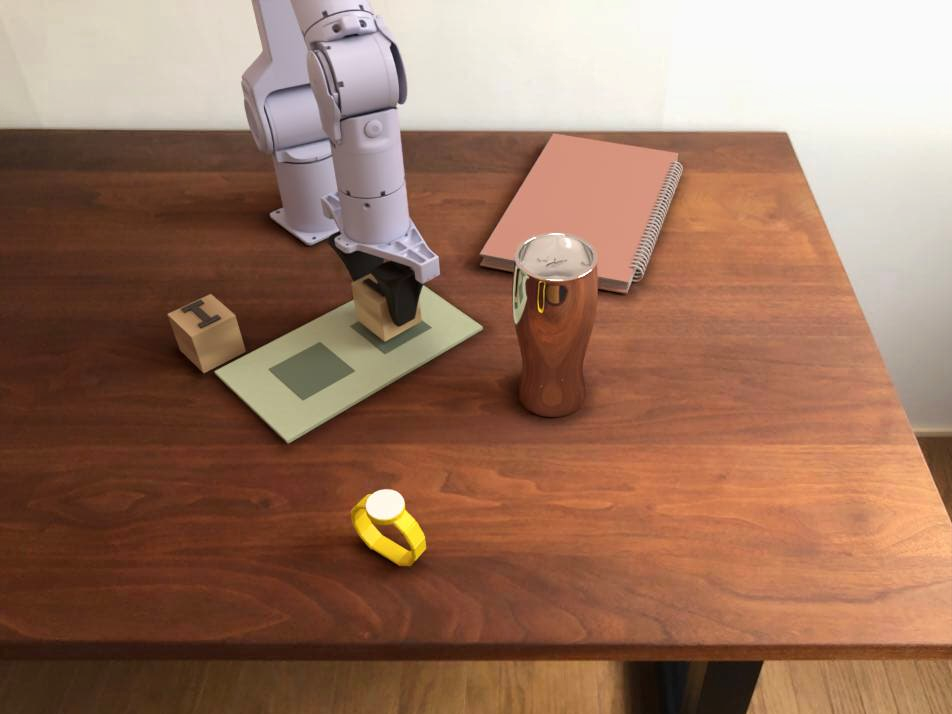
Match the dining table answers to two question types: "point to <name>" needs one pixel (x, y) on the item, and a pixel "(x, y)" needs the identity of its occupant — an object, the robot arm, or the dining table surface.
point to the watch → (386, 511)
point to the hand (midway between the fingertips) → (388, 308)
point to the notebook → (591, 205)
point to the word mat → (338, 364)
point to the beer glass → (554, 319)
